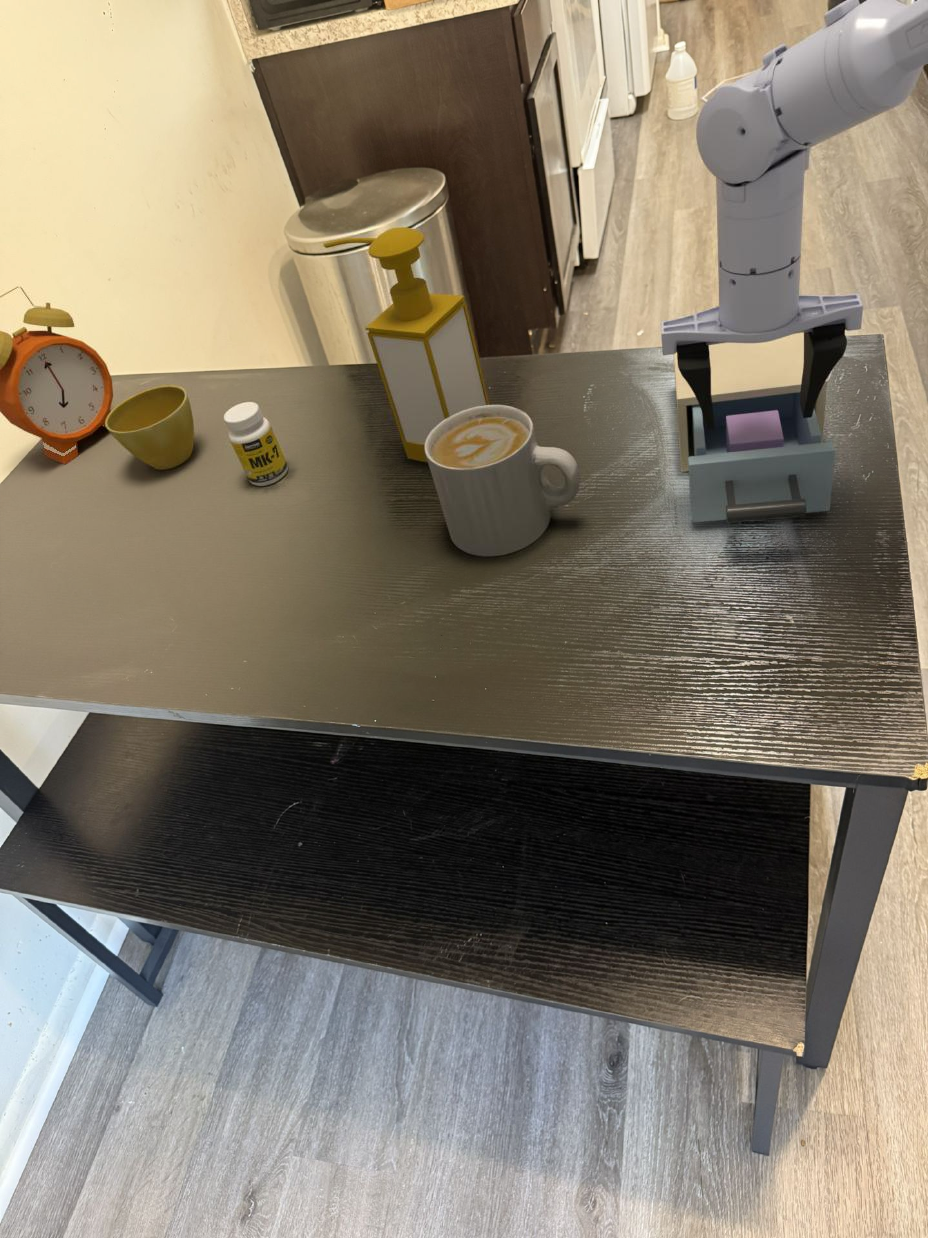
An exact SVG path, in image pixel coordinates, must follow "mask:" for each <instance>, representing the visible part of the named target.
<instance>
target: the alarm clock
mask: <svg viewBox="0 0 928 1238" xmlns="http://www.w3.org/2000/svg"><path fill="white" fill-rule="evenodd" d="M18 288H20V289H21V291H22V293H23V294H24V295H25V298H27V300H28V301H29V303H30V304H31V306H33V307H31V308H29V309H27V311H26V312H25V313H24V316H23V319H22V322H23V323H24V324H26V325H32V326H39V327H46V329H47V330H28V329H27V327H26V326H23V327H21V328H19V329H18V330H16V331H14V332H13V333H11V334H9V333H8V332H5V331H3V330H0V413H1V415H3V417H4V418H5V419H6V420H7V421H8V422H9V423H10V424H11V425H13V426H15V427H17V428H19V429H20V430H22V431H24V432H26V433H28V434H30V435H33V436H35V437H37V438H39V439H41V441H42V443H43V442H44V443H46V444H47V445H49V446H50V447H53V448H54V449H56V450H57V451H59V452H61V453H65V452H66V451H68V450H69V449H71V448H72V447H74V446H75V445H77V446H78V442H79V441H80V440H84V438H87V437H89V436H91V435H93V433H95V432H96V431H97V430H98V429H99V428H100V427H102V428H105V429H107V428H106V426H105V421H106V418H107V416H108V415H109V413H110V412H111V411H112V410H111V408H112V403H113V399H114V387H113V377H112V376H111V373H110V371H109V368H108V365H107V363H106V362H105V361H104V360H103V358H102V356H100V354H99V353H98V352H97V350H95V349H94V348H93V347H92V346H90V345H88V344H87V343H85V342H84V341H83V340H80V339H76V338H73V337H70V336H67V335H63V334H60V333H56V332H53V331H52V329H53V328H75V322H74V320H73V319H74V318H73V316H71V315H70V313H69V312H67V311H65V310H63V309H61V308H55V307H54V308H53V307H51V302H45V306H41V305H40V306H39V305H38V306H37V305H34V304H33V302H32V300H31V299H30V297H29V296H28V295H27V293H26V291H24V289H23V288H22V287H21V286H15V287H14V288H12V289H11V290H9V291H7V292H5V293H3V294H1V295H0V298H2V297H4V296H5V295H7V294H9V293H11V292H13V291H15V290H16V289H18ZM103 425H104V426H103ZM78 452H79V451H78V447H77V448H75V449H74V450H72V451H71V452H69V453H68V454H66V455H65V456H61V455H59V454H57V453H54V452H52V451H50V450H47V449H45V448H43V453H44V454H43V455H44V457H47V458H49V459H52V460H53V461H56V462H59V463H61V464H63V465H66V464H67V463H69V462H71V461H72V460H74V459H75V458H77V457H78V456H79V453H78Z"/></svg>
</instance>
